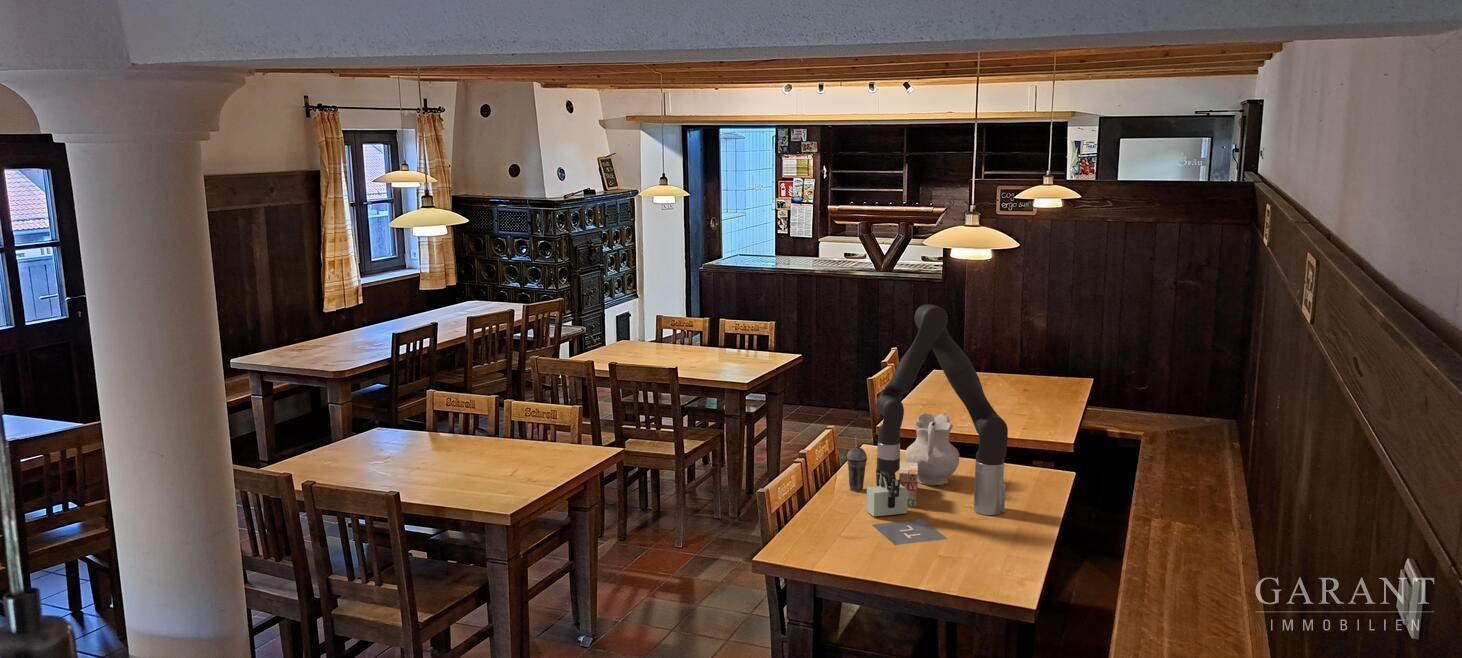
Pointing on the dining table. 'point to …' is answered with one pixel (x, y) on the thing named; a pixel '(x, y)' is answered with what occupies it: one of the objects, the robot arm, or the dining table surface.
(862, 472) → the beverage cup
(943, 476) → the ceramic pitcher
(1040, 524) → the dining table surface
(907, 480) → the stack of blocks
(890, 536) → the gray tile
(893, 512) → the sage block
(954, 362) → the robot arm
